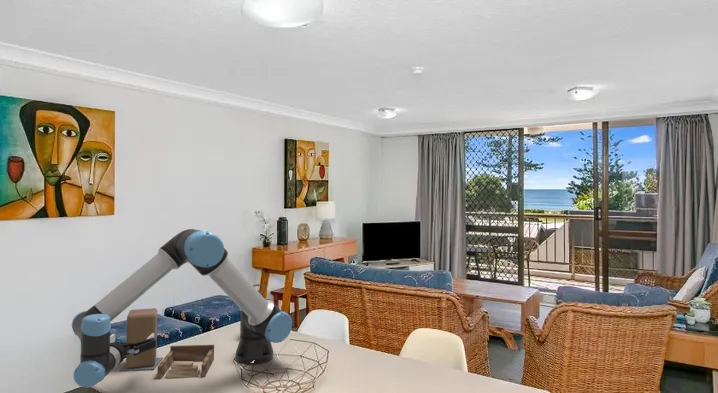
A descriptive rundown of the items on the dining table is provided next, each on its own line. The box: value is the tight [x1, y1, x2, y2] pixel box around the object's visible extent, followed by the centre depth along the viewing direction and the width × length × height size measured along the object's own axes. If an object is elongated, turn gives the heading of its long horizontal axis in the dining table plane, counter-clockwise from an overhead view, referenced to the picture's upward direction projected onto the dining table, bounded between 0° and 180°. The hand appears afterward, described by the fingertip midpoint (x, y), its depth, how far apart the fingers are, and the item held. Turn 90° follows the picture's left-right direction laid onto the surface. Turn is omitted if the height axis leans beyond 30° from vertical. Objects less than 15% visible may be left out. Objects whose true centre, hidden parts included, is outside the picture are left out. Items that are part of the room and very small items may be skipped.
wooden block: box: [125, 308, 158, 368], centre depth 172 cm, size 10×10×20 cm
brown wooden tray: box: [156, 344, 215, 380], centre depth 169 cm, size 18×16×6 cm
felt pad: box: [119, 357, 164, 372], centre depth 172 cm, size 12×12×1 cm
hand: (133, 337), depth 164 cm, fingers open, 13 cm apart
